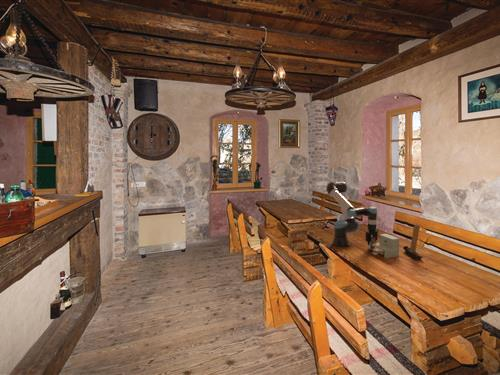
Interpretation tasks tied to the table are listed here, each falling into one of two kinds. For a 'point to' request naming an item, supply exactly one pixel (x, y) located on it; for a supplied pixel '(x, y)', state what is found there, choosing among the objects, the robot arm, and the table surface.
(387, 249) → the plinth shelf
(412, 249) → the hammer
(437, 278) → the table surface
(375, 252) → the chrome dome knob
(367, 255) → the table surface
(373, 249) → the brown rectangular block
